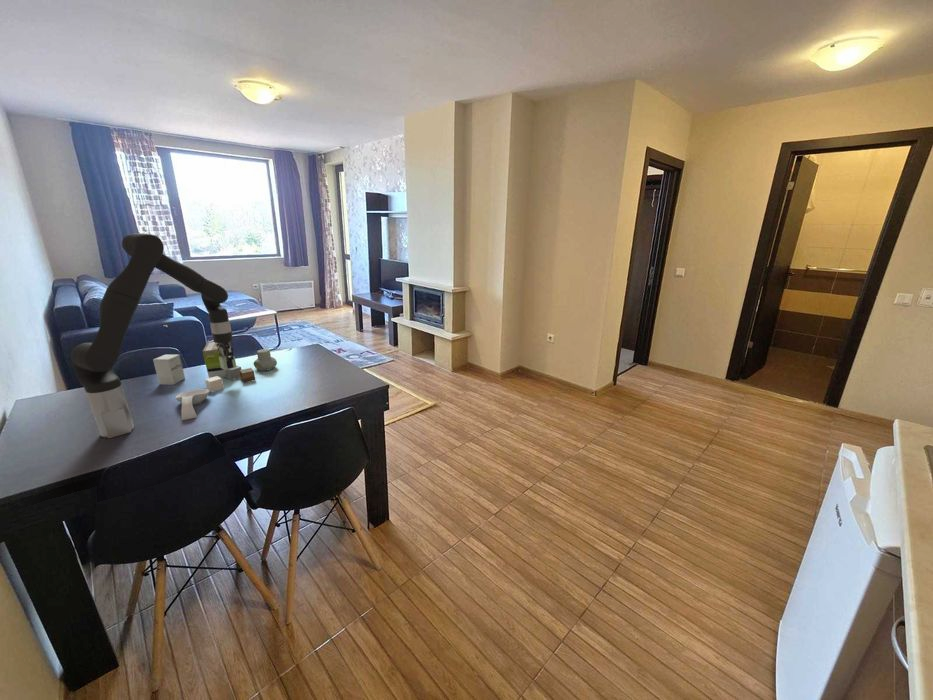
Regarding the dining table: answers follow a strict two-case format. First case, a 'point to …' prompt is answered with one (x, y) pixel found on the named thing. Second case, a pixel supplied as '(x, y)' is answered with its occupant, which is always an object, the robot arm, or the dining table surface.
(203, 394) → the spoon rest
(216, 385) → the cream cube
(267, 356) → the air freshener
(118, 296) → the robot arm
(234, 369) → the slate cube
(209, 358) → the tea box
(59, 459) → the dining table surface
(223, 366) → the sage cube
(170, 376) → the supplement box
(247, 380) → the walnut cube
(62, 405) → the dining table surface
